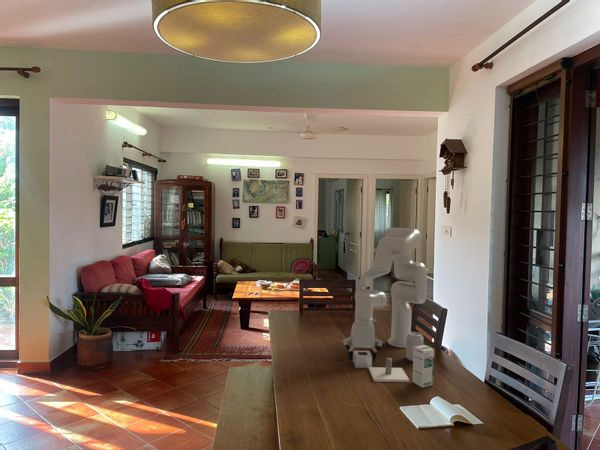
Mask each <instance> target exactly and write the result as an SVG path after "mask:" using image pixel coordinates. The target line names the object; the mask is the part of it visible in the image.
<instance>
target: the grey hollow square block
mask: <svg viewBox="0 0 600 450" xmlns="http://www.w3.org/2000/svg"><path fill="white" fill-rule="evenodd" d="M352 352H353V355H352V363H353V365H354V367H355V368H356V369H369V367H373V361H372V352H371V351H370V350H352Z"/></svg>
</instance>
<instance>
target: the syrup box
mask: <svg viewBox="0 0 600 450" xmlns="http://www.w3.org/2000/svg"><path fill="white" fill-rule="evenodd" d="M434 375H435V348H433V347H431V346H429V345H425V344H423V346H417V347H414V349H413V361H412V383H414V384H416V385H417V386H419V387H421V388H426V387H430V386H433V385H434V381H435V379H434V377H435V376H434Z"/></svg>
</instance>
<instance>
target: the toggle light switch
mask: <svg viewBox="0 0 600 450" xmlns="http://www.w3.org/2000/svg"><path fill="white" fill-rule="evenodd" d="M392 364H393V359H392V358H391V357H386V358H385V366H384V367H379V366H378V367H375V366H372V367H369V368H368V371H369V373H370V376H371V377H372V380H373V382H378V383H379V382H385V383H389V382H390V383H410V379H409V377H408V375H407V374H406V371H405V370H404V369H403V367H392V366H393V365H392Z"/></svg>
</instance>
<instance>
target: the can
mask: <svg viewBox="0 0 600 450" xmlns="http://www.w3.org/2000/svg"><path fill="white" fill-rule="evenodd" d="M424 340H425V339H424V336H423V333H421V332H417V331H411V332H409V333H408V335H407V340H406V348H405V358H406V359H407V361H410V362H413V349H414V347H417V346H423V345H424Z"/></svg>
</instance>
